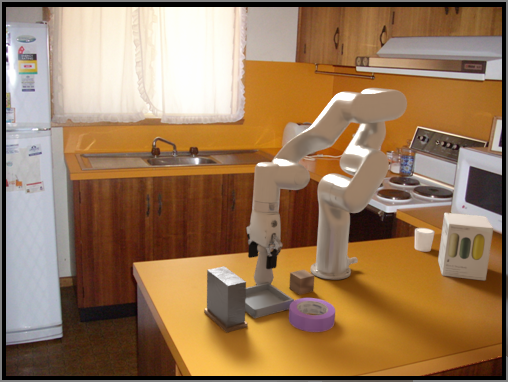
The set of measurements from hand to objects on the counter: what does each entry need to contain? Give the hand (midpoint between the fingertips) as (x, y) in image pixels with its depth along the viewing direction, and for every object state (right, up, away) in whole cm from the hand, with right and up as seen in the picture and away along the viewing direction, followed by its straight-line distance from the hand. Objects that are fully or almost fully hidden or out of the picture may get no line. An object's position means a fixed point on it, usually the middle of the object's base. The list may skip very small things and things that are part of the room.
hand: (261, 262), depth 152 cm
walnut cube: (+12, -8, 0) cm, 14 cm away
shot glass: (+59, 0, +37) cm, 69 cm away
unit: (-10, -12, -19) cm, 24 cm away
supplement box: (+65, -5, +18) cm, 68 cm away
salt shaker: (+1, -7, +2) cm, 7 cm away
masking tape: (+13, -13, -18) cm, 25 cm away
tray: (0, -10, -10) cm, 14 cm away
